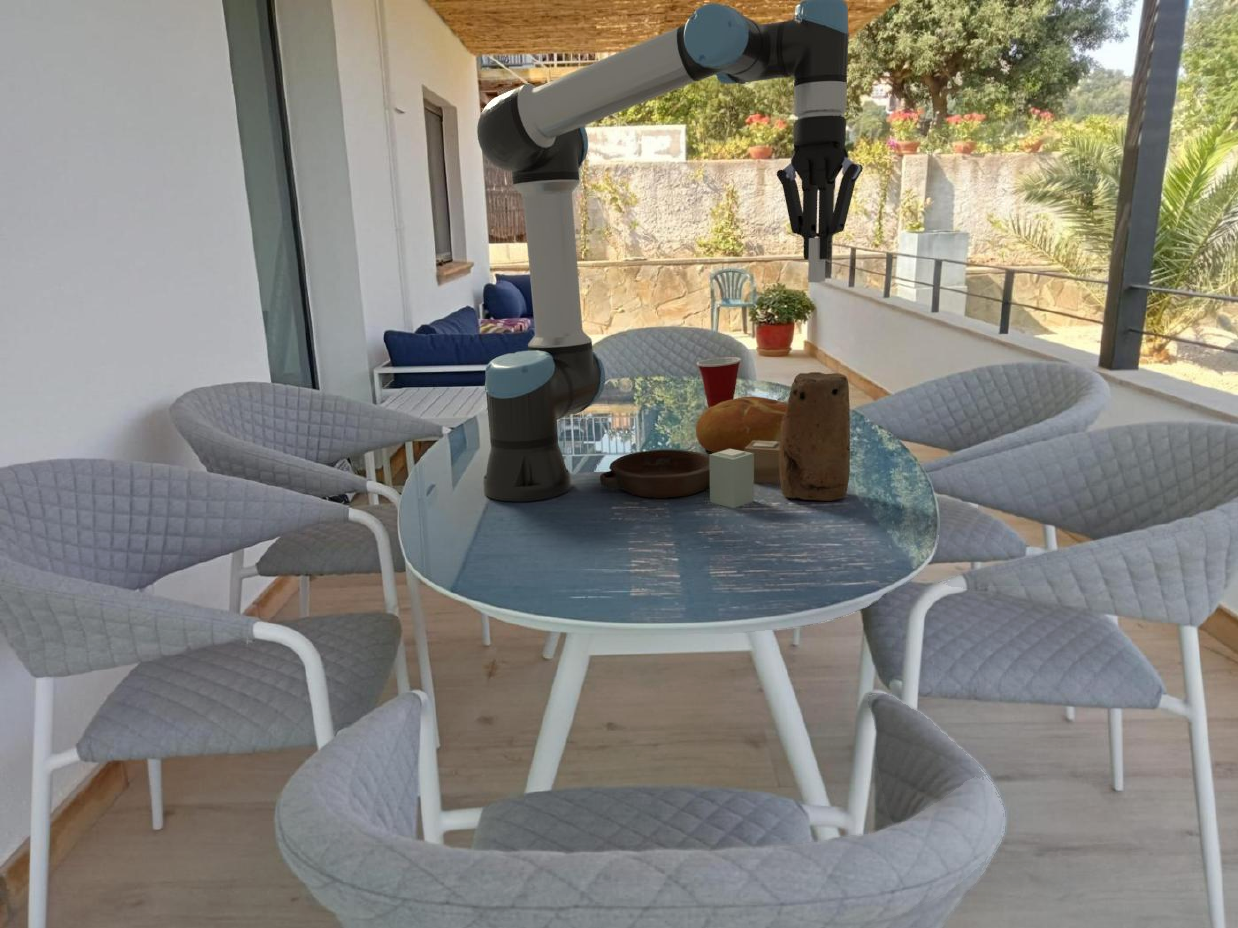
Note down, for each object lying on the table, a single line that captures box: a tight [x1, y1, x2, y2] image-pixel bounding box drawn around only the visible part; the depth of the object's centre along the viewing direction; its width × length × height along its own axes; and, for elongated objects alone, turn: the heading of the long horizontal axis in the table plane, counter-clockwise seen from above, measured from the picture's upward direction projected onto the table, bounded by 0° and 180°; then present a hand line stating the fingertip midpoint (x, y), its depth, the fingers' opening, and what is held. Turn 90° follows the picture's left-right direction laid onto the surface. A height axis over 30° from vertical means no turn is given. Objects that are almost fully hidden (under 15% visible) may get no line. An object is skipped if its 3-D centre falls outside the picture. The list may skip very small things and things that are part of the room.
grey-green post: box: [708, 449, 755, 509], centre depth 141 cm, size 5×5×8 cm
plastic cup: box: [696, 356, 742, 409], centre depth 213 cm, size 11×11×12 cm
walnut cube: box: [744, 440, 780, 484], centre depth 153 cm, size 6×6×6 cm
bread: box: [695, 396, 788, 454], centre depth 174 cm, size 23×23×10 cm
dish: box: [599, 448, 710, 499], centre depth 150 cm, size 18×22×5 cm
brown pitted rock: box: [779, 371, 851, 502], centre depth 140 cm, size 11×8×20 cm
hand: (816, 281), depth 134 cm, fingers closed
